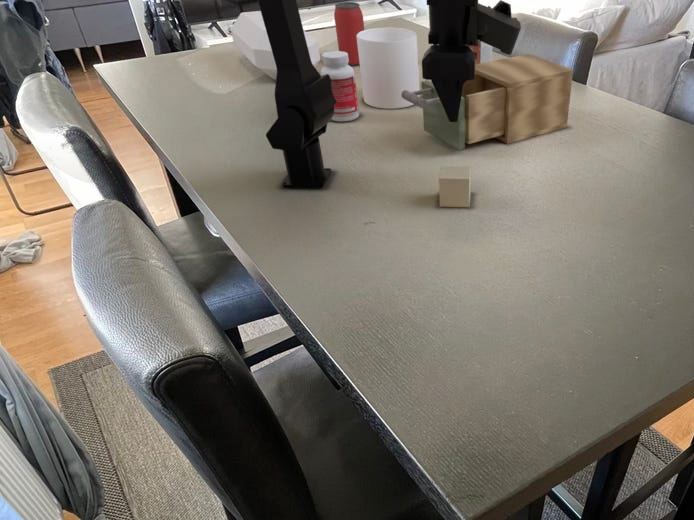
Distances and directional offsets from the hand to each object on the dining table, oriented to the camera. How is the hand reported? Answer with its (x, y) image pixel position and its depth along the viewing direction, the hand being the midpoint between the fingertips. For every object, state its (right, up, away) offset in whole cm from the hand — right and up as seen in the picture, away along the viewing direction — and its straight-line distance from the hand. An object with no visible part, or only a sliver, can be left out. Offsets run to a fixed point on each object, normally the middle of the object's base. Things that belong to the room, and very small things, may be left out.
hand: (454, 117), depth 80 cm
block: (0, -9, +8) cm, 12 cm away
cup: (-15, +23, +42) cm, 50 cm away
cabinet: (+11, +13, +32) cm, 36 cm away
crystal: (-44, +39, +59) cm, 83 cm away
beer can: (-27, +42, +62) cm, 79 cm away
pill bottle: (-23, +16, +34) cm, 44 cm away
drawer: (0, +8, +25) cm, 27 cm away
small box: (+1, +28, +48) cm, 55 cm away
